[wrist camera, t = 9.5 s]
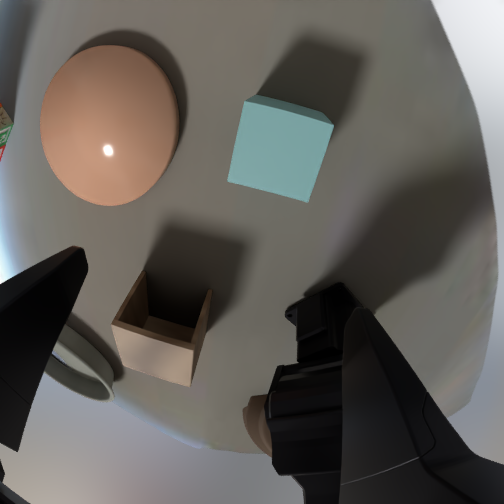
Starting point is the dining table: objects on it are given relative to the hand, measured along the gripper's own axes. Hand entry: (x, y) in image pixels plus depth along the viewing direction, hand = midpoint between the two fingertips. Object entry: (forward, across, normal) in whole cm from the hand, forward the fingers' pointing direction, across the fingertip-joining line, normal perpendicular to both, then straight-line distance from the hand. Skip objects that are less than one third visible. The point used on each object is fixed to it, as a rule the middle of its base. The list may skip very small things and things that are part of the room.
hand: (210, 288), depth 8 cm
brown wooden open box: (+13, +6, +17) cm, 22 cm away
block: (+13, -1, -2) cm, 13 cm away
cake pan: (+13, +29, +39) cm, 50 cm away
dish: (+13, +12, -1) cm, 18 cm away
